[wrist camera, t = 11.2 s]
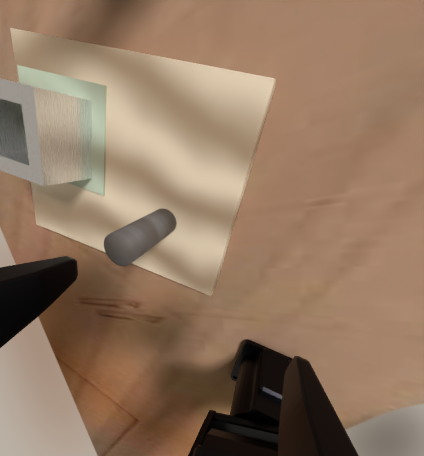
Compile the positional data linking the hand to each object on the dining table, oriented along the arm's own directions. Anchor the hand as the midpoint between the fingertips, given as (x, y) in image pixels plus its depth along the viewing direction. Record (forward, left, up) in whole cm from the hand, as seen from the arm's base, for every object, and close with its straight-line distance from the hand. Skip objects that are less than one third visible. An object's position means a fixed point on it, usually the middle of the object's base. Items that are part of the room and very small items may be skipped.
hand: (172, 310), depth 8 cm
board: (+1, +11, -12) cm, 16 cm away
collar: (+3, +17, -10) cm, 20 cm away
